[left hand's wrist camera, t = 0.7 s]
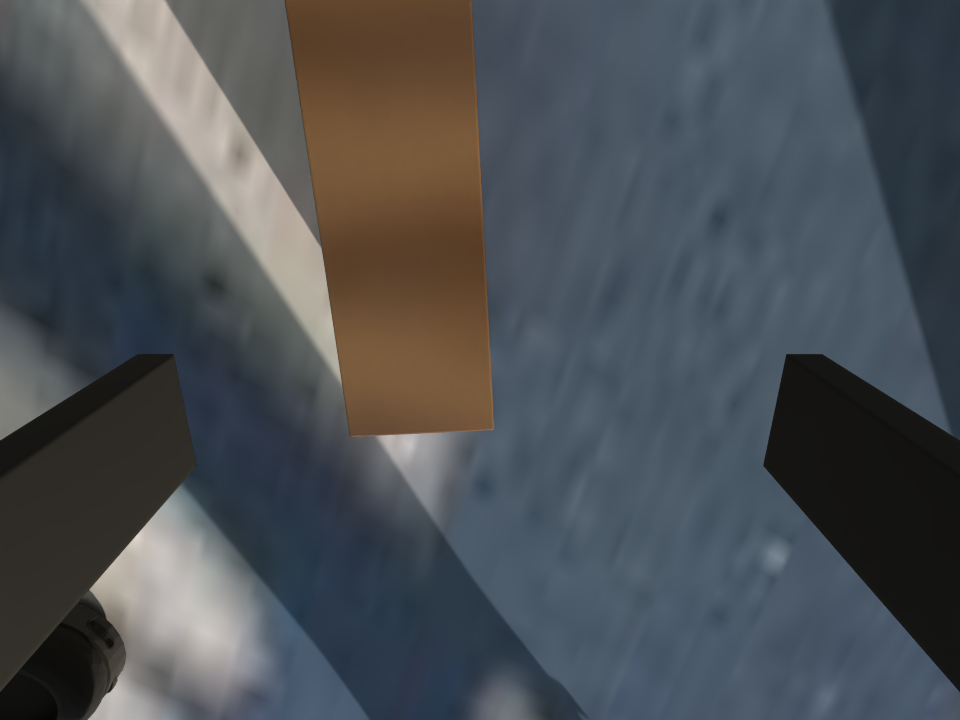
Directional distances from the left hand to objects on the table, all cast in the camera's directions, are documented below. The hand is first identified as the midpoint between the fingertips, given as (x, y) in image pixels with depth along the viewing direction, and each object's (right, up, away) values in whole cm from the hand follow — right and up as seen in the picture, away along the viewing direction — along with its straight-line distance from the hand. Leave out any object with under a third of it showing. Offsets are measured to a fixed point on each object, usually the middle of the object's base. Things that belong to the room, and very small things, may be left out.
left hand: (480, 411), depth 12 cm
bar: (-3, +13, +14) cm, 19 cm away
